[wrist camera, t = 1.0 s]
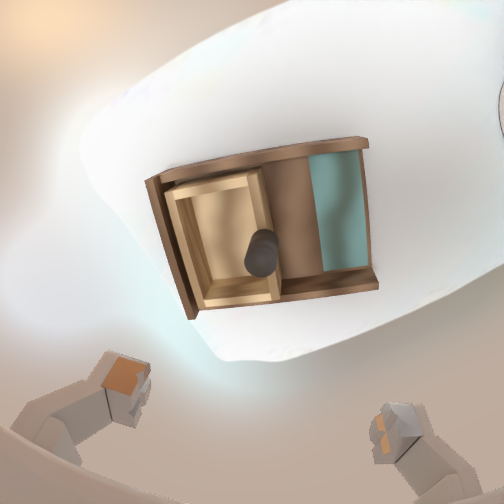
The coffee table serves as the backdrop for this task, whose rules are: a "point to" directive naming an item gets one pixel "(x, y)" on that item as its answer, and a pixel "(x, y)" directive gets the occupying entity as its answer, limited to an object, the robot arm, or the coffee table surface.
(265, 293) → the crate
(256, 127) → the coffee table surface
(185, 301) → the bay
